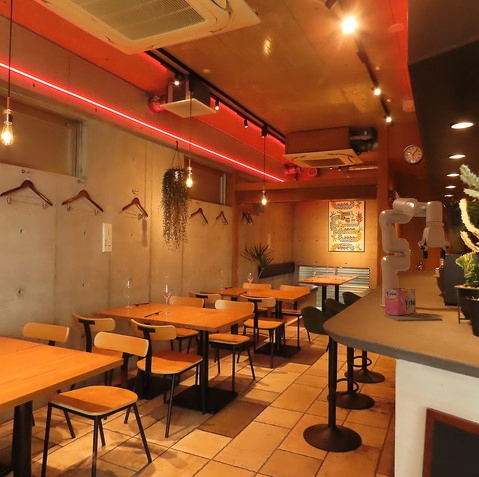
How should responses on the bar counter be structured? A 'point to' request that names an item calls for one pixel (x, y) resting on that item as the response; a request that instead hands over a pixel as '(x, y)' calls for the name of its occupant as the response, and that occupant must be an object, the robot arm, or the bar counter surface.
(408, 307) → the gum box
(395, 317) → the mat
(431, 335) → the bar counter surface
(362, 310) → the bar counter surface
